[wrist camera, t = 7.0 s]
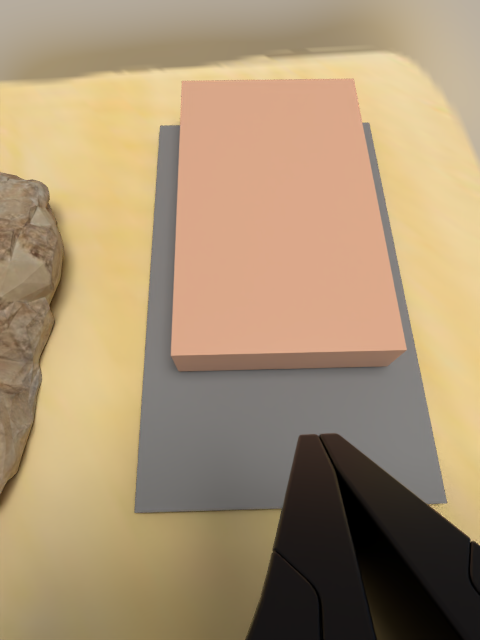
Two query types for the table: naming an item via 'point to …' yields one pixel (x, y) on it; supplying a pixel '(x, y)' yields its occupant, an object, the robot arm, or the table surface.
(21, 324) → the flat grey rock
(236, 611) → the table surface
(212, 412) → the mat
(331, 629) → the robot arm
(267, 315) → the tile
